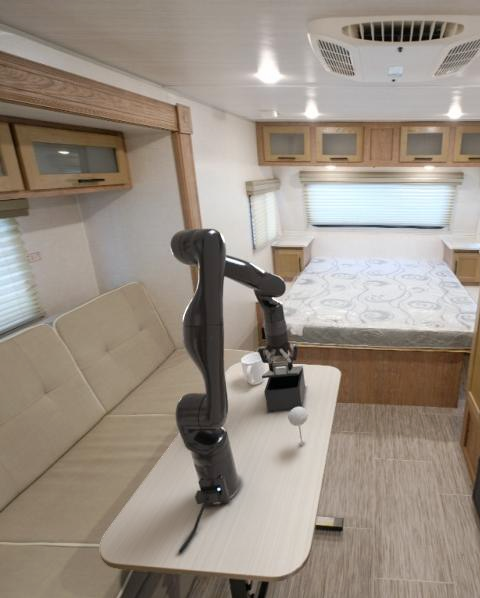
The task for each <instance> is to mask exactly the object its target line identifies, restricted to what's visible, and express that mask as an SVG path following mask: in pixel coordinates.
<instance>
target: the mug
mask: <svg viewBox="0 0 480 598" xmlns="http://www.w3.org/2000/svg"><path fill="white" fill-rule="evenodd" d="M240 363H241V364H240V365H241V368H242V374H243V377H244V379H245V380H246V381H247V383H249V384H250V385H252V386H256V385H259V384H261V383H262V382H263V380H264V378H262V376H263V375H264V374H265V373H266V365H265V364H266V363H263V362H262V359H261V357H260V354H259V351H257V352H250V353H247V354H245V355H244V356H242V357H241V358H240Z"/></svg>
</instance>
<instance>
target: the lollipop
mask: <svg viewBox="0 0 480 598" xmlns="http://www.w3.org/2000/svg"><path fill="white" fill-rule="evenodd" d="M308 416H309V412H308V410H306V409H305V407H295V408H293V409H292V410H289V413H288V415H287V419H288V421H289V423H290V424H291V425H292V426H294V427H298V431H299V438H300V445H301V446H303V444H304V443H303V435H302V429H301V426H302V425H304V424H305V423H306V421H307V419H308V418H309V417H308Z"/></svg>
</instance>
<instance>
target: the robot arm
mask: <svg viewBox="0 0 480 598" xmlns="http://www.w3.org/2000/svg"><path fill="white" fill-rule="evenodd" d="M169 243H170V245H169V246H170V247H169V248H170V252H171V253H172V255H173V257H174V259H176V260H177V262H179V263H181V264H183V265H186V266H190V267H194V268H198V281H197V286H196V289H195V291H194V293H193V295H192V297H191V299H190V301H189V303H188V304H187V306H186V308H185V310H184V313H183V316H182V319H181V320H182V321H181V329H182V330H181V331H182V333H181V334H182V345H183V348H184V350H185V351H186V353H187V355H188V357H189V358H190V359H191V361H192V362H193V364H194V365H195V367H196V368H197V370H199V372H200V374H201V376H202V380H203V383H204V388H205V392H189V393H186V394H184V395H183V396H181V398H180V399H179V400H178V402H177V404H176V406H175V411H174V412H175V416H174V418H175V423H176V427H177V430H178V432H179V435H180V438H181V439H182V442H183V445H184V448H186V450H188V451H189V452H190V455H191V459H192V462H193V466H194V469H195V472H196V476H197V479H198V487H199V489H200V490H197V491H196V493H195V495H194V498H195V502H196V505H202V506H201V508H200V511H199V513H198V515H197V517H196V520H195V523H194V526H193V529H192V530H191V532H190V534H189V536H188V537H187V539H186V540H185V542H184V543H183V544H182V545H181V547H180V548H179V550H178V552H179V553H183V551H185V550H184V549H185V548H186V547H187V545H188V544H189V543H190V541H191V540H192V539H193V537H194V535H195V533H196V532H197V528H199V527H198V526H199V523H200V520H201V517H202V516H203V513H204V511H205V509H206V507H210V506H211V507H212V506H218V505H225V504H229V503H230V501H231V499H232V498H234V497H235V496H236V495H237V493H238V492H239V490H240V487H241V480H240V478H239V475H238V471H237V466H236V463H235V457H234V455H233V451H232V447H231V442H230V439H229V438H230V437H229V434H228V431H227V429H226V428H225V427H224V426H225V424H226V421H227V418H228V415H229V397H228V387H227V379H226V372H225V317H224V285H225V278H227V279H229V280H232V281H234V282H236V283H238V284H240V285H242V286H244V287H245V288H248V289H250V290H253V294H254V296H255V298H256V300H257V302H258V304H259V306H260V308H261V311H262V317H263V328H264V335H265V343H266V345H265V346H263V345H260V346H259V348H258V351H257V352H258V353H259V354H260V357H261V359H262V362H263V363H265V364H268V371H269V370H270V371H271V372H274V369H273V362H274V360H273V359H274V358H275V357H284V359H285V360H286V361H288V369H289V371H291V369H292V368H293V367H294V363H293V362H295V361H297V358H298V349H299V344H298V343H294V344H293V343H292V344H291V343H290V342H289V341H290V340H289V334H288V325H287V320H286V317H285V310H284V305H283V303H282V302H281V301H278V300H277V299H275V298H281V297H282V296H284V294H285V293H286V291H287V284H286V282H285V280H284V279H283V278H282V277H281V276H279V275H277V274H275V273H271V272H269V271H265V270H263V269H261V268H260V267H258V266H256V265H255V264H253V263H251V262H249V261H247V260H245V259H241V258H238V257H235V256H232V255H229V254H227V245H226V241H225V238H224V236H223V234H222V233H221V232H220V231H219V230H218V229H216V228H192V229H184V230H179V231H177V232H176V233H174V234H173V236H172V237H171V239H170V242H169ZM289 349H291V351H293V354H291V353H290V351H289ZM266 351H268V353H270V355H269V357H267V353H266Z"/></svg>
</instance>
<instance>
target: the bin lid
mask: <svg viewBox="0 0 480 598" xmlns="http://www.w3.org/2000/svg"><path fill="white" fill-rule="evenodd" d="M302 368H303V369H304V366H303V365H298V366H297V365H296V366H293V368H292V369H291V371H289V369H288V361H287V360H285V361H273V369H274V372H271V371H270V370H269V369H268V370H267V371H265V374H264V375H263V376H262V378H263V379H268V378H270V377H281V376H292V375H298V374H299V373H300V371H301V370H302Z"/></svg>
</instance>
